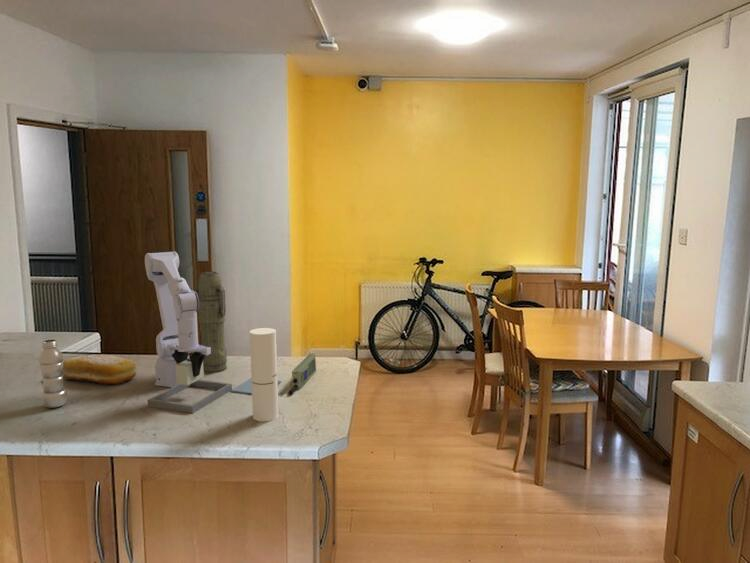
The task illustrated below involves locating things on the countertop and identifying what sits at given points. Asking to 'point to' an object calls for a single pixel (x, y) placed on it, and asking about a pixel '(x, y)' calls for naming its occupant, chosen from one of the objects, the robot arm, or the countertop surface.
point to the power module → (187, 373)
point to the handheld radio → (303, 372)
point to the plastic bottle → (52, 375)
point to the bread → (99, 369)
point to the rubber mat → (246, 387)
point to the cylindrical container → (264, 374)
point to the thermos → (212, 320)
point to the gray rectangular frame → (158, 403)
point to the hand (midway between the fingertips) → (190, 374)
